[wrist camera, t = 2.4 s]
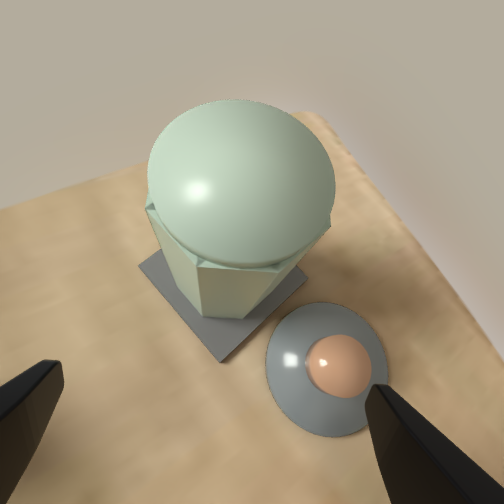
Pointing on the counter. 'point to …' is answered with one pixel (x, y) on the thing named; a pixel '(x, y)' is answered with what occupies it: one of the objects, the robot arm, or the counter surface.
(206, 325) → the mat
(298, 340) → the plate
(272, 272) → the mint green canister
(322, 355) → the peach dome
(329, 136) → the counter surface
